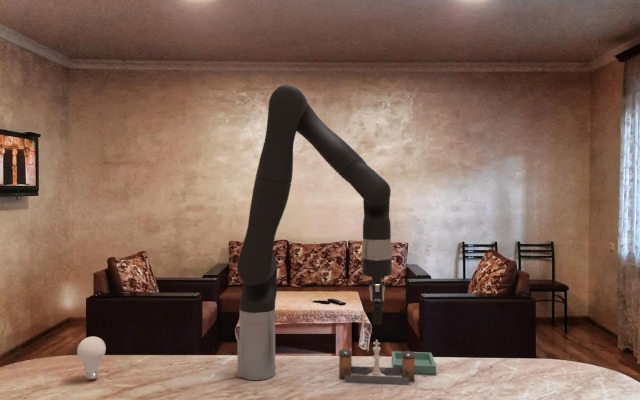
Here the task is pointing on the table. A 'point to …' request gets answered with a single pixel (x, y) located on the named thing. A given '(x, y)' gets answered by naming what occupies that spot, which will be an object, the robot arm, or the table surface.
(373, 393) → the table surface
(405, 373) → the rail
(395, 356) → the tray
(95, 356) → the light bulb
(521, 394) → the table surface
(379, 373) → the chess piece
